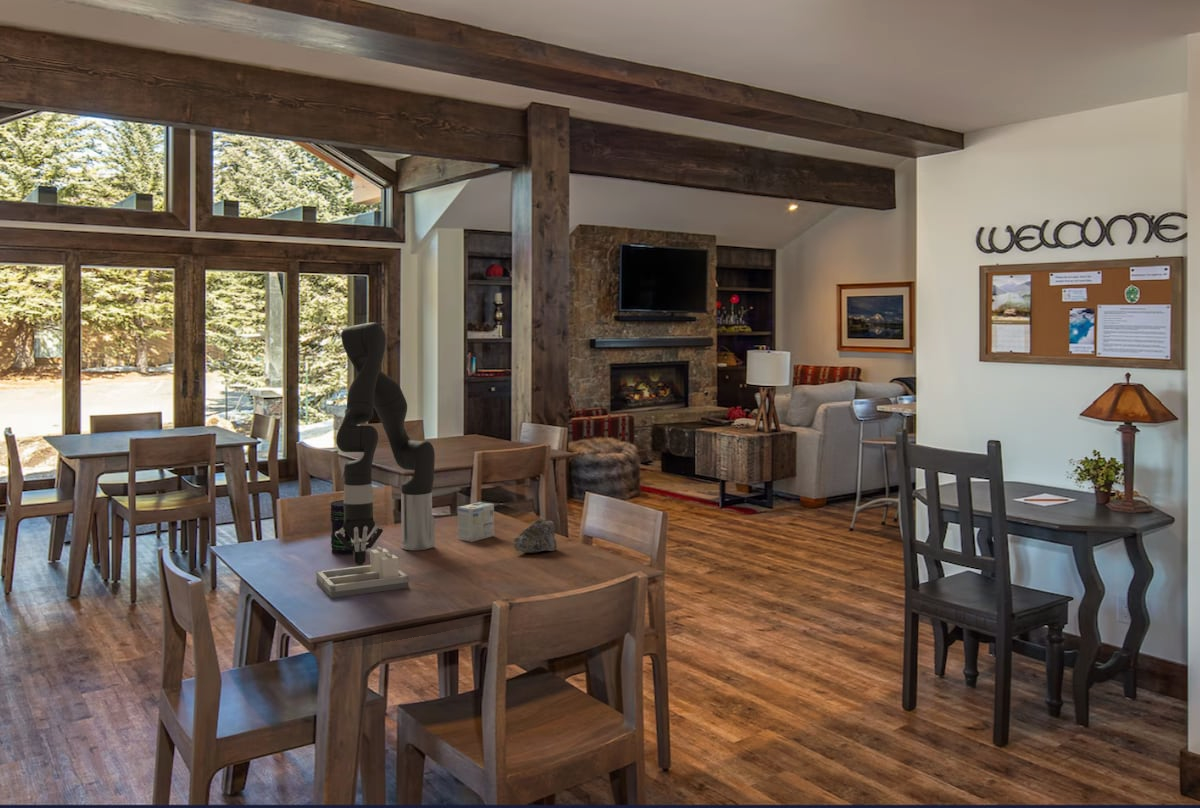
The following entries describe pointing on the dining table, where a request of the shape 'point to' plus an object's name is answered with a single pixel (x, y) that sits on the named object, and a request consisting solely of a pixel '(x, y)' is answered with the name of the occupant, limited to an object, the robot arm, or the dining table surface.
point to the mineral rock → (537, 537)
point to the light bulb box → (475, 521)
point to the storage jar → (337, 522)
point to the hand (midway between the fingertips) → (359, 564)
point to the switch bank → (357, 581)
